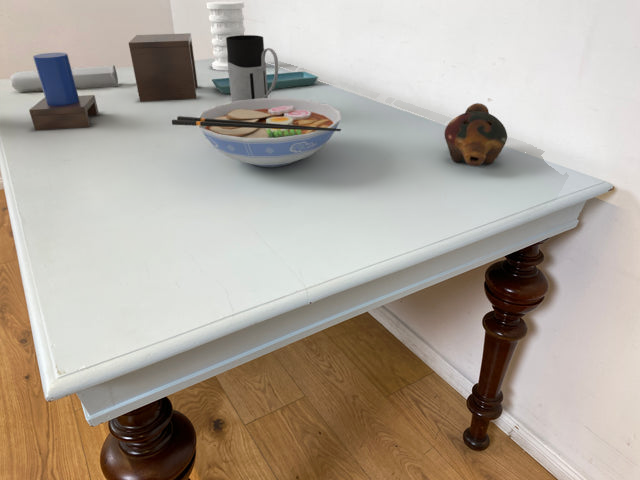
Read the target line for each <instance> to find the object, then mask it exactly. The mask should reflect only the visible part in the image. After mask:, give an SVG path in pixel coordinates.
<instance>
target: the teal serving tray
mask: <svg viewBox="0 0 640 480" xmlns="http://www.w3.org/2000/svg"><path fill="white" fill-rule="evenodd" d="M266 76H267V91H269V89H270V88H271V86H272V83H273V79H274V73H269V74H266ZM318 78H319V77H318V76H317V75H315V74H312V73H310V72H308V71H303V70H302V71H291V72H290V71H289V72H280V73H279V72H278V77H277V81H276V84H275V87H274V89H273V90H275V89H276V90H277V89H284V88H294V87H302V86H303V87H304V86H313V85H315V83H316V82H317V80H318ZM211 82H212V83H213V85H214V86H215V89H217V90H218V91H219V92H221V93H223V94H224V95H226V94H227V95H228V94H231V92H230V81H229V77H225V78H224V77H223V78H221V77H220V78H213V79H211Z"/></svg>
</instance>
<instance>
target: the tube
mask: <svg viewBox="0 0 640 480" xmlns="http://www.w3.org/2000/svg"><path fill="white" fill-rule="evenodd" d="M71 70H72V74H73V77H74V81H75V85H76V89H87V88H102V87H118V86H119V77H118V73H117V69H116V66H115V64H111V65H104V66H88V67H73V68H72V67H71ZM10 82H11V87H12V88H13V89H14V90H15V91H17V92H19V93H32V92H33V93H34V92H43V89H42V85H41V82H40V78H39V75H38V72H37V70H28V71H27V70H25V71H16V72H15V73H13V74H11V75H10Z"/></svg>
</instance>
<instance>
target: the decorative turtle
mask: <svg viewBox="0 0 640 480" xmlns="http://www.w3.org/2000/svg"><path fill="white" fill-rule="evenodd" d="M444 140H445V142H446V143H445V144H446V146H447V149H448V152H449V155H450V158H451V161H452V162H454V163H460V162H462V161H463V160H464V161H465V163H466V164H467V165H469V166H472V167H479V166H481V165H482V164H483V163H484V164H485V165H492V164H493V163H494V162H495V161H496V159H497V158H498V157H499V155H500V154H501V152H502V151H503V149H504V147H505V145H506V143H507V142H508V141H507V140H508V132H507V129H506V127H505V125H504V124H503V123H502V121H501V120H500V119H498V117H496V116H494V115H493V114H491V113H490V112H489V108H488V106H486V105H485V104H483V103H479V102H477V103H473V104H471V105H469V106H468V107H467V108H466V110H465V112H464V113H461V114H459V115H457V116H456V117H454V118H453V119H452V120H450V122H449V123H448V124H447V125H446V126H445V128H444Z"/></svg>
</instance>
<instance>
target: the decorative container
mask: <svg viewBox="0 0 640 480" xmlns="http://www.w3.org/2000/svg"><path fill="white" fill-rule="evenodd" d="M205 4H206V9H207V10H209V16H208V20H209V22H210V33H211V37H212V39H211V43H212V46H213V50H212V54H213V56H214V61H213V62H212V63H211V65H212V69H213V70H216V71H222V72H223V71H225V72H226V71H227V72H229V71H228V61H227V56H228V53H227V42H226V38H227V37H231V36H239V35H245V31H246V28H245V25H244V20H245V16H244V14H243V8H245V2H244V1H239V0H238V1H237V0H223V1H221V0H220V1H219V0H218V1H209V2H205Z"/></svg>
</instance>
